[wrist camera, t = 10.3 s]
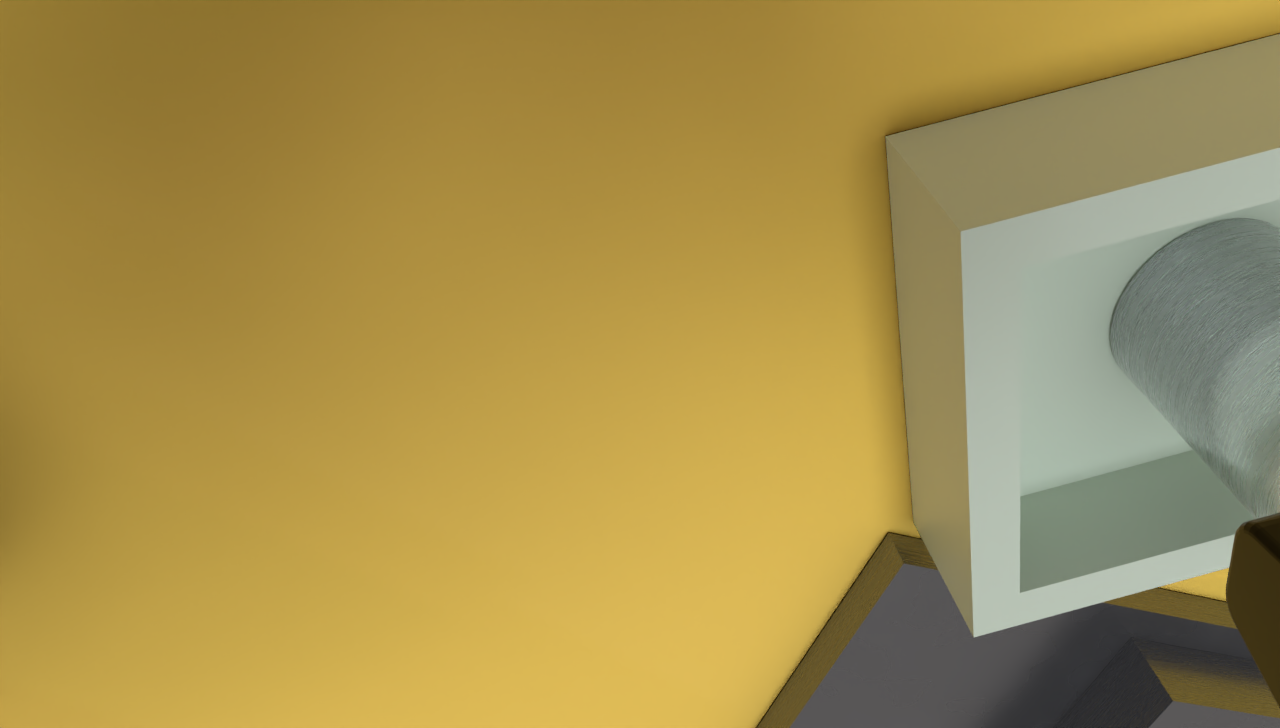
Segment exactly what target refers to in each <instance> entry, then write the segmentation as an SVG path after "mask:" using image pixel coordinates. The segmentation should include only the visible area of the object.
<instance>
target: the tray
mask: <svg viewBox="0 0 1280 728" xmlns="http://www.w3.org/2000/svg"><path fill="white" fill-rule="evenodd" d="M885 138H886V152H887V166H888V179H889V193H890V207H891V221H892V235H893V248H894V262H895V276H896V290H897V304H898V317H899V331H900V345H901V359H902V373H903V386H904V400H905V414H906V428H907V442H908V455H909V469H910V483H911V497H912V511H913V523H914V525H915V526H916V528H917V530H918V532H919V534H920V536H921V538H922V540H923V542H924V544H925V546H926V548H927V549H928V551H929V553H930V555H931V557H932V559H933V561H934V563H935V565H936V567H937V569H938V570H939V572H940V574H941V576H942V578H943V580H944V582H945V584H946V586H947V588H948V590H949V591H950V593H951V595H952V597H953V599H954V601H955V603H956V605H957V607H958V609H959V611H960V612H961V614H962V616H963V618H964V620H965V622H966V624H967V626H968V628H969V630H970V632H971V633H972V635H973V637H977V636H981V635H985V634H988V633H992V632H996V631H999V630H1003V629H1007V628H1010V627H1014V626H1018V625H1021V624H1025V623H1029V622H1032V621H1036V620H1040V619H1043V618H1047V617H1051V616H1054V615H1058V614H1061V613H1065V612H1069V611H1072V610H1076V609H1080V608H1083V607H1087V606H1091V605H1094V604H1098V603H1102V602H1105V601H1109V600H1113V599H1116V598H1120V597H1124V596H1127V595H1131V594H1135V593H1138V592H1142V591H1145V590H1149V589H1153V588H1156V587H1160V586H1164V585H1167V584H1171V583H1175V582H1178V581H1182V580H1186V579H1189V578H1193V577H1197V576H1200V575H1204V574H1208V573H1211V572H1215V571H1219V570H1222V569H1226V568H1229V566H1230V560H1231V554H1232V548H1233V542H1234V536H1235V533H1236V530H1237V529H1238V528H1239V526H1240V525H1241V524H1242V523H1244V522H1246V521H1249V520H1253V519H1255V518H1254V517H1253V516H1252V515H1251V514H1250V513H1249V512H1248V511H1247V509H1246V508H1245V507H1244V506H1243V505H1242V504H1241V503H1240V502H1239V501H1238V499H1237V498H1236V497H1235V496H1234V495H1233V494H1232V493H1231V492H1230V490H1229V489H1228V488H1227V487H1226V486H1225V485H1224V484H1223V483H1222V482H1221V480H1220V479H1219V478H1218V477H1217V476H1216V475H1215V474H1214V473H1213V472H1212V470H1211V469H1210V468H1209V467H1208V466H1207V465H1206V464H1205V463H1204V462H1203V460H1202V459H1201V458H1200V457H1199V456H1198V455H1197V454H1196V453H1195V451H1194V450H1193V449H1192V448H1191V447H1190V446H1189V445H1188V444H1187V443H1186V441H1185V440H1184V439H1183V438H1182V437H1181V436H1180V435H1179V434H1178V433H1177V431H1176V430H1175V429H1174V428H1173V427H1172V426H1171V425H1170V424H1169V423H1168V421H1167V420H1166V419H1165V418H1164V417H1163V416H1162V415H1161V414H1160V412H1159V411H1158V410H1157V409H1156V408H1155V407H1154V406H1153V405H1152V404H1151V402H1150V401H1149V400H1148V399H1147V398H1146V397H1145V396H1144V395H1143V394H1142V392H1141V391H1140V390H1139V389H1138V388H1137V387H1136V386H1135V385H1134V383H1133V382H1132V381H1131V380H1130V379H1129V378H1128V377H1127V376H1126V375H1125V373H1124V372H1123V371H1122V370H1121V369H1120V367H1119V366H1118V365H1117V362H1116V360H1115V358H1114V356H1113V352H1112V349H1111V340H1110V335H1111V325H1112V321H1113V316H1114V313H1115V310H1116V308H1117V305H1118V303H1119V301H1120V299H1121V297H1122V295H1123V293H1124V291H1125V290H1126V288H1127V287H1128V285H1129V283H1130V282H1131V281H1132V279H1133V278H1134V277H1135V275H1136V274H1137V273H1138V272H1139V270H1140V269H1141V268H1142V267H1143V266H1144V265H1145V264H1146V263H1147V262H1148V261H1149V260H1150V259H1151V258H1152V257H1153V256H1155V255H1156V254H1157V253H1158V252H1159V251H1160V250H1162V249H1163V248H1164V247H1166V246H1167V245H1168V244H1170V243H1171V242H1173V241H1174V240H1176V239H1178V238H1179V237H1181V236H1183V235H1184V234H1186V233H1188V232H1191V231H1193V230H1195V229H1197V228H1199V227H1202V226H1205V225H1207V224H1210V223H1214V222H1218V221H1221V220H1228V219H1234V218H1250V219H1258V220H1262V221H1265V222H1268V223H1270V224H1273V225H1275V226H1277V227H1278V228H1279V229H1280V34H1277V35H1273V36H1269V37H1265V38H1261V39H1258V40H1254V41H1250V42H1246V43H1242V44H1238V45H1235V46H1231V47H1227V48H1223V49H1219V50H1215V51H1211V52H1208V53H1204V54H1200V55H1196V56H1192V57H1188V58H1185V59H1181V60H1177V61H1173V62H1169V63H1165V64H1162V65H1158V66H1154V67H1150V68H1146V69H1142V70H1138V71H1135V72H1131V73H1127V74H1123V75H1119V76H1115V77H1112V78H1108V79H1104V80H1100V81H1096V82H1092V83H1089V84H1085V85H1081V86H1077V87H1073V88H1069V89H1065V90H1062V91H1058V92H1054V93H1050V94H1046V95H1042V96H1039V97H1035V98H1031V99H1027V100H1023V101H1019V102H1016V103H1012V104H1008V105H1004V106H1000V107H996V108H992V109H989V110H985V111H981V112H977V113H973V114H969V115H966V116H962V117H958V118H954V119H950V120H946V121H943V122H939V123H935V124H931V125H927V126H923V127H920V128H916V129H912V130H908V131H904V132H900V133H896V134H893V135H889V136H885Z"/></svg>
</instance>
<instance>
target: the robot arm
mask: <svg viewBox="0 0 1280 728" xmlns="http://www.w3.org/2000/svg"><path fill="white" fill-rule="evenodd" d="M1226 601H1227V605H1228V609H1229V612H1230V615H1231V617H1232V619H1233V621H1234V623H1235V625H1236V627H1237V629H1238V631H1239V633H1240V635H1241V637H1242V639H1243V640H1244V642H1245V644H1246V646H1247V648H1248V650H1249V652H1250V654H1251V656H1252V657H1253V659H1254V661H1255V663H1256V665H1257V667H1258V669H1259V671H1260V673H1261V674H1262V676H1263V678H1264V680H1265V682H1266V684H1267V686H1268V688H1269V690H1270V691H1271V693H1272V695H1273V697H1274V699H1275V701H1276V703H1277V705H1278V707H1279V709H1280V513H1276V514H1272V515H1268V516H1264V517H1261V518H1257V519H1253V520H1249V521H1246V522H1244V523H1242V524H1241V525H1240V526H1239V528H1238V529H1237V530H1236V533H1235V536H1234V542H1233V548H1232V554H1231V560H1230V566H1229V572H1228V578H1227V584H1226Z"/></svg>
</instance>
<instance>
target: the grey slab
mask: <svg viewBox="0 0 1280 728" xmlns="http://www.w3.org/2000/svg"><path fill="white" fill-rule="evenodd" d="M757 728H1280V709H1279V707H1278V705H1277V703H1276V701H1275V699H1274V697H1273V695H1272V693H1271V691H1270V690H1269V688H1268V686H1267V684H1266V682H1265V680H1264V678H1263V676H1262V674H1261V673H1260V671H1259V669H1258V667H1257V665H1256V663H1255V661H1254V659H1253V657H1252V656H1251V654H1250V652H1249V650H1248V648H1247V646H1246V644H1245V642H1244V640H1243V639H1242V637H1241V635H1240V633H1239V631H1238V629H1237V627H1236V625H1235V623H1234V621H1233V619H1232V617H1231V615H1230V612H1229V609H1228V605H1227V602H1222V601H1217V600H1212V599H1208V598H1203V597H1198V596H1193V595H1188V594H1183V593H1178V592H1174V591H1169V590H1164V589H1159V588H1153V589H1149V590H1145V591H1142V592H1138V593H1135V594H1131V595H1127V596H1124V597H1120V598H1116V599H1113V600H1109V601H1105V602H1102V603H1098V604H1094V605H1091V606H1087V607H1083V608H1080V609H1076V610H1072V611H1069V612H1065V613H1061V614H1058V615H1054V616H1051V617H1047V618H1043V619H1040V620H1036V621H1032V622H1029V623H1025V624H1021V625H1018V626H1014V627H1010V628H1007V629H1003V630H999V631H996V632H992V633H988V634H985V635H981V636H977V637H973V635H972V633H971V632H970V630H969V628H968V626H967V624H966V622H965V620H964V618H963V616H962V614H961V612H960V611H959V609H958V607H957V605H956V603H955V601H954V599H953V597H952V595H951V593H950V591H949V590H948V588H947V586H946V584H945V582H944V580H943V578H942V576H941V574H940V572H939V570H938V569H937V567H936V565H935V563H934V561H933V559H932V557H931V555H930V553H929V551H928V549H927V548H926V546H925V544H924V542H923V540H921V539H916V538H912V537H907V536H902V535H897V534H892V533H888V534H887V536H886V537H885V539H884V540H883V542H882V543H881V545H880V546H879V548H878V549H877V551H876V552H875V554H874V555H873V556H872V558H871V559H870V561H869V562H868V564H867V565H866V567H865V568H864V570H863V571H862V573H861V574H860V576H859V577H858V579H857V580H856V582H855V583H854V585H853V586H852V588H851V589H850V591H849V592H848V594H847V595H846V596H845V598H844V599H843V601H842V602H841V604H840V605H839V607H838V608H837V610H836V611H835V613H834V614H833V616H832V617H831V619H830V620H829V622H828V623H827V625H826V626H825V628H824V629H823V631H822V632H821V634H820V635H819V636H818V638H817V639H816V641H815V642H814V644H813V645H812V647H811V648H810V650H809V651H808V653H807V654H806V656H805V657H804V659H803V660H802V662H801V663H800V665H799V666H798V668H797V669H796V671H795V672H794V674H793V675H792V676H791V678H790V679H789V681H788V682H787V684H786V685H785V687H784V688H783V690H782V691H781V693H780V694H779V696H778V697H777V699H776V700H775V702H774V703H773V705H772V706H771V708H770V709H769V711H768V712H767V714H766V715H765V717H764V718H763V719H762V721H761V722H760V724H759V725H758V727H757Z"/></svg>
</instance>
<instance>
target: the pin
mask: <svg viewBox="0 0 1280 728" xmlns="http://www.w3.org/2000/svg"><path fill="white" fill-rule="evenodd" d="M1110 340H1111V349H1112V352H1113V356H1114V358H1115V360H1116V362H1117V365H1118V366H1119V367H1120V369H1121V370H1122V371H1123V372H1124V373H1125V375H1126V376H1127V377H1128V378H1129V379H1130V380H1131V381H1132V382H1133V383H1134V385H1135V386H1136V387H1137V388H1138V389H1139V390H1140V391H1141V392H1142V394H1143V395H1144V396H1145V397H1146V398H1147V399H1148V400H1149V401H1150V402H1151V404H1152V405H1153V406H1154V407H1155V408H1156V409H1157V410H1158V411H1159V412H1160V414H1161V415H1162V416H1163V417H1164V418H1165V419H1166V420H1167V421H1168V423H1169V424H1170V425H1171V426H1172V427H1173V428H1174V429H1175V430H1176V431H1177V433H1178V434H1179V435H1180V436H1181V437H1182V438H1183V439H1184V440H1185V441H1186V443H1187V444H1188V445H1189V446H1190V447H1191V448H1192V449H1193V450H1194V451H1195V453H1196V454H1197V455H1198V456H1199V457H1200V458H1201V459H1202V460H1203V462H1204V463H1205V464H1206V465H1207V466H1208V467H1209V468H1210V469H1211V470H1212V472H1213V473H1214V474H1215V475H1216V476H1217V477H1218V478H1219V479H1220V480H1221V482H1222V483H1223V484H1224V485H1225V486H1226V487H1227V488H1228V489H1229V490H1230V492H1231V493H1232V494H1233V495H1234V496H1235V497H1236V498H1237V499H1238V501H1239V502H1240V503H1241V504H1242V505H1243V506H1244V507H1245V508H1246V509H1247V511H1248V512H1249V513H1250V514H1251V515H1252V516H1253V517H1254V518H1255V519H1257V518H1261V517H1264V516H1268V515H1272V514H1276V513H1280V229H1279V228H1278V227H1277V226H1275V225H1273V224H1270V223H1268V222H1265V221H1262V220H1258V219H1250V218H1234V219H1228V220H1221V221H1218V222H1214V223H1210V224H1207V225H1205V226H1202V227H1199V228H1197V229H1195V230H1193V231H1191V232H1188V233H1186V234H1184V235H1183V236H1181V237H1179V238H1178V239H1176V240H1174V241H1173V242H1171V243H1170V244H1168V245H1167V246H1166V247H1164V248H1163V249H1162V250H1160V251H1159V252H1158V253H1157V254H1156V255H1155V256H1153V257H1152V258H1151V259H1150V260H1149V261H1148V262H1147V263H1146V264H1145V265H1144V266H1143V267H1142V268H1141V269H1140V270H1139V272H1138V273H1137V274H1136V275H1135V277H1134V278H1133V279H1132V281H1131V282H1130V283H1129V285H1128V287H1127V288H1126V290H1125V291H1124V293H1123V295H1122V297H1121V299H1120V301H1119V303H1118V305H1117V308H1116V310H1115V313H1114V316H1113V321H1112V325H1111V335H1110Z"/></svg>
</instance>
